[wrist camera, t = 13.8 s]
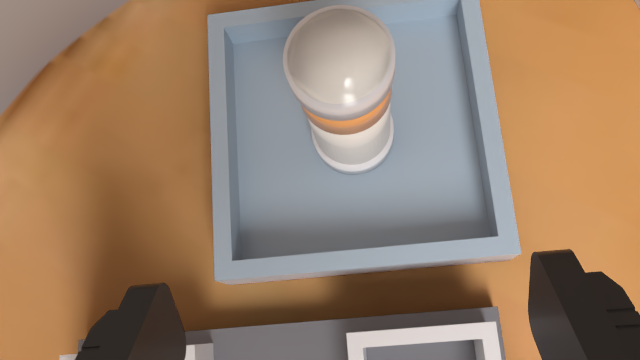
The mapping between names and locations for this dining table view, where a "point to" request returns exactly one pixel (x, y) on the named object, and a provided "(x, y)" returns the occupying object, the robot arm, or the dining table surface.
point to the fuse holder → (356, 339)
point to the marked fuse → (344, 85)
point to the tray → (363, 189)
